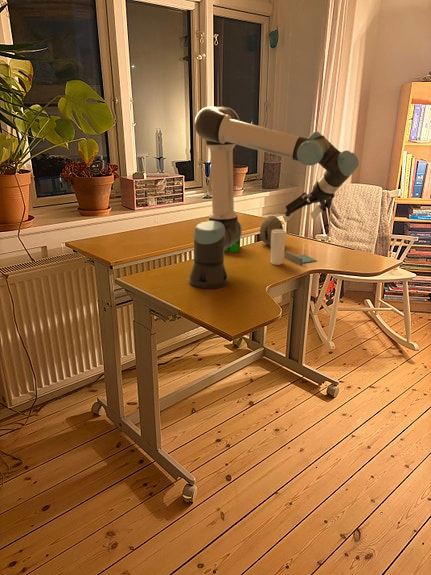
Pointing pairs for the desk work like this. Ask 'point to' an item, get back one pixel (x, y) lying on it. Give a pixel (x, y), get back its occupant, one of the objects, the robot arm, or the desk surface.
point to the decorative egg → (269, 228)
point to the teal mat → (306, 259)
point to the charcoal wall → (293, 258)
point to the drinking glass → (278, 246)
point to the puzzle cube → (234, 247)
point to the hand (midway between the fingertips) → (298, 217)
